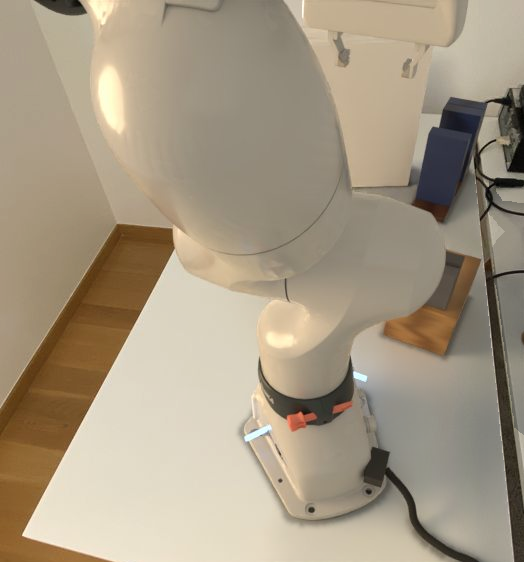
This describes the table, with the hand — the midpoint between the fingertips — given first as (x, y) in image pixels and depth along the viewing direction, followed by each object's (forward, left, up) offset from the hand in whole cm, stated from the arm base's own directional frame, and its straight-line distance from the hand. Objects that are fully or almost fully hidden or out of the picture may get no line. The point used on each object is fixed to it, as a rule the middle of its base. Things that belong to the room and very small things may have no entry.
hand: (374, 70), depth 67 cm
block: (+25, -3, -33) cm, 41 cm away
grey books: (-21, -2, -24) cm, 32 cm away
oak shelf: (-18, -5, -33) cm, 38 cm away
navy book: (+8, -20, -32) cm, 38 cm away
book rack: (+11, -23, -33) cm, 41 cm away
